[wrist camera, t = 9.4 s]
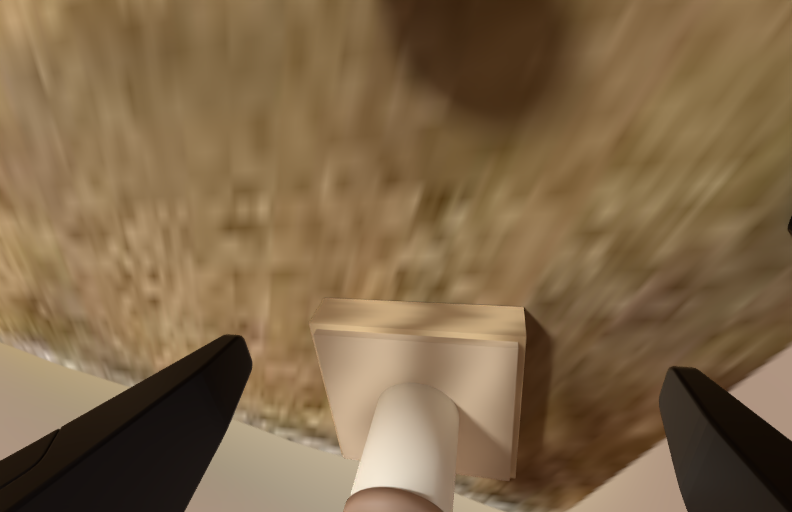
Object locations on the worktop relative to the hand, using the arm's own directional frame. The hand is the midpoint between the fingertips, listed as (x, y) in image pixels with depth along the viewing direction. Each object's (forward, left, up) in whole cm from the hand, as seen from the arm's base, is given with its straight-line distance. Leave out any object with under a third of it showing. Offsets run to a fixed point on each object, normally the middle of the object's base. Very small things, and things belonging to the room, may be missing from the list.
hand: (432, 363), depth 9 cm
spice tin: (+3, +14, -10) cm, 17 cm away
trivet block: (+3, +14, -13) cm, 19 cm away
